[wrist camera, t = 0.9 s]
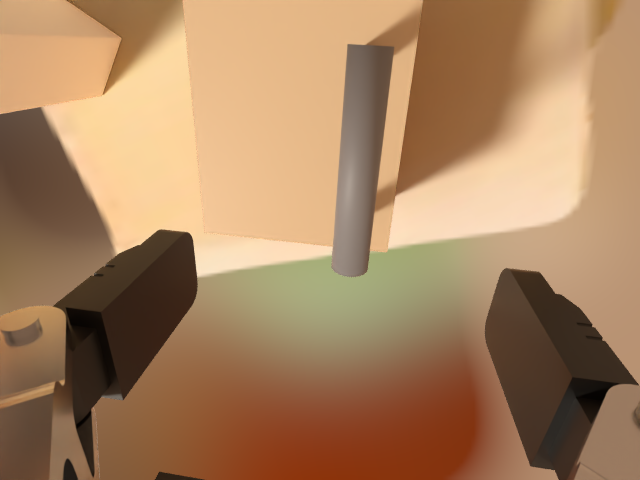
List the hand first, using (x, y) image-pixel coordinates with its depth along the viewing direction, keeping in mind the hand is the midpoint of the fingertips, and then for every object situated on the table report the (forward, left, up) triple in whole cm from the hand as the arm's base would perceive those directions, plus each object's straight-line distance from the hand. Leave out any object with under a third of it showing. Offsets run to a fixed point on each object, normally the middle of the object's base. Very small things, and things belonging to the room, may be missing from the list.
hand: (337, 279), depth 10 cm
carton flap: (0, -4, -18) cm, 18 cm away
